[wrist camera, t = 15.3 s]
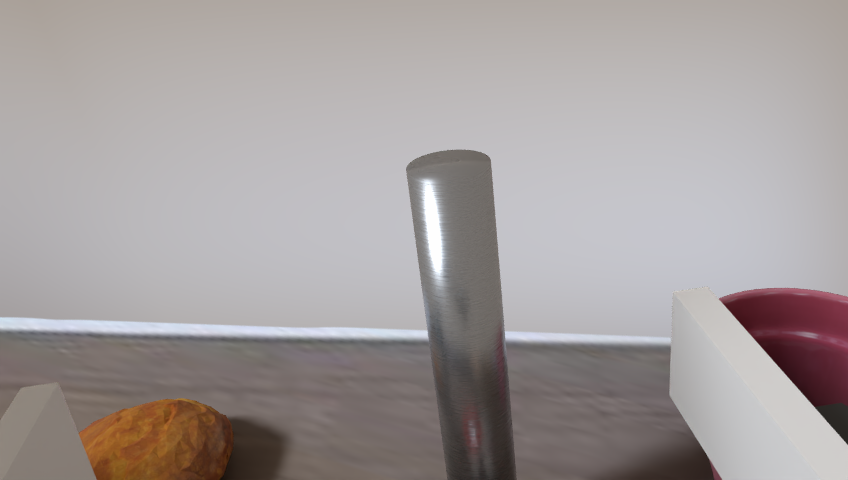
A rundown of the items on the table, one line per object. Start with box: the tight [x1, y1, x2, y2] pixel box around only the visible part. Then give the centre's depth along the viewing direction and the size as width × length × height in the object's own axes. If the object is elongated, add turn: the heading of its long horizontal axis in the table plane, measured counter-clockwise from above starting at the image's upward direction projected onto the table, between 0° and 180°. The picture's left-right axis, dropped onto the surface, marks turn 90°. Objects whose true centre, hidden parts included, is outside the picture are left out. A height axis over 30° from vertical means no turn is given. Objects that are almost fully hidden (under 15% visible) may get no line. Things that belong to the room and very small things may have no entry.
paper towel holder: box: [406, 150, 517, 480], centre depth 39 cm, size 15×21×28 cm
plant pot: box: [709, 288, 848, 480], centre depth 51 cm, size 14×14×13 cm
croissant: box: [78, 398, 233, 480], centre depth 59 cm, size 14×16×8 cm
